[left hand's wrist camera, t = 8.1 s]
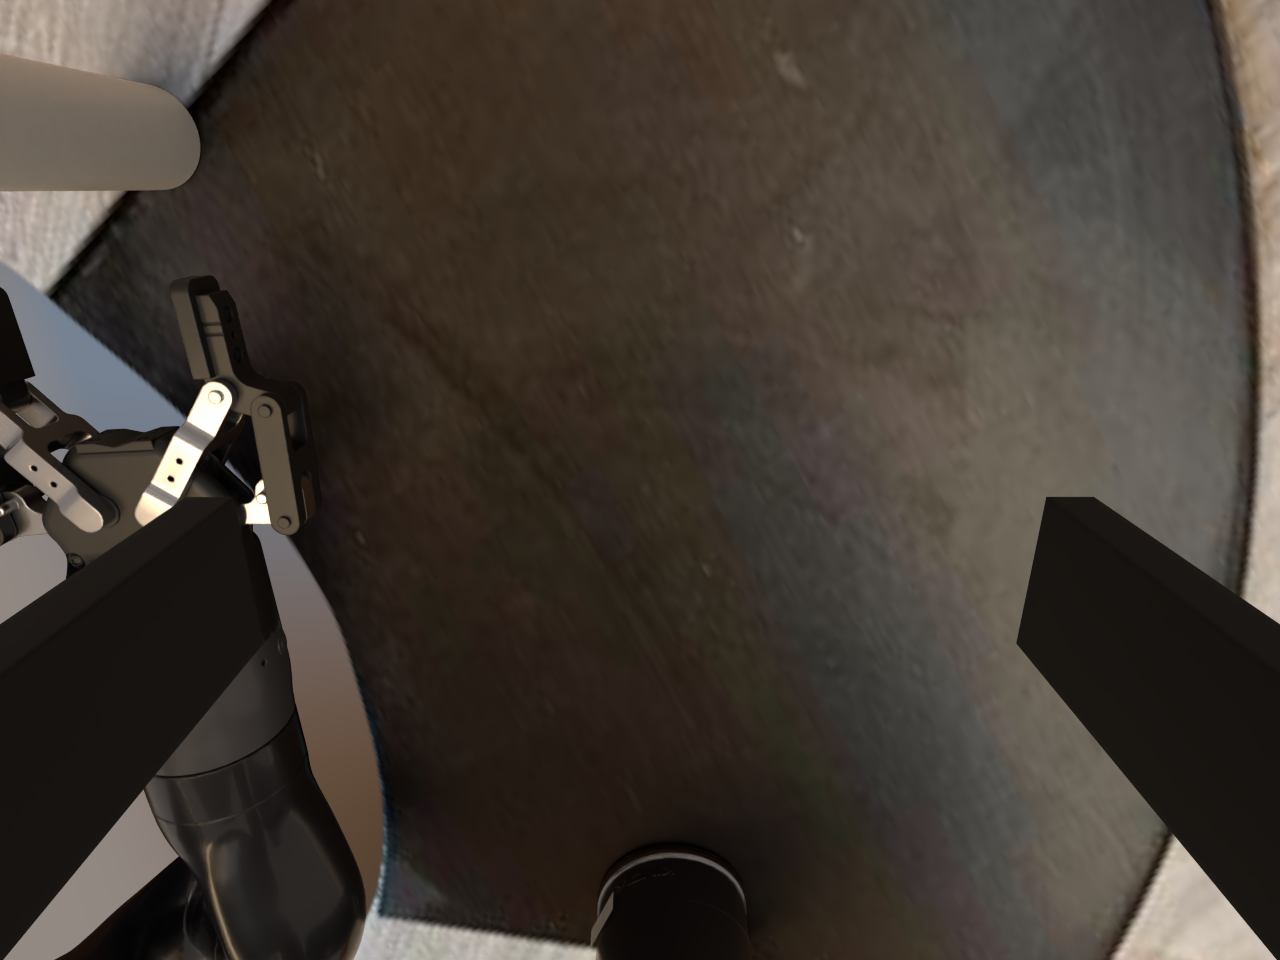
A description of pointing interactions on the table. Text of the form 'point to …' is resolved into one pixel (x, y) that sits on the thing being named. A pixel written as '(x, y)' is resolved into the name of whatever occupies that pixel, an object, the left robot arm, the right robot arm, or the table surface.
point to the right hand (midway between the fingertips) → (81, 283)
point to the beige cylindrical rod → (90, 131)
